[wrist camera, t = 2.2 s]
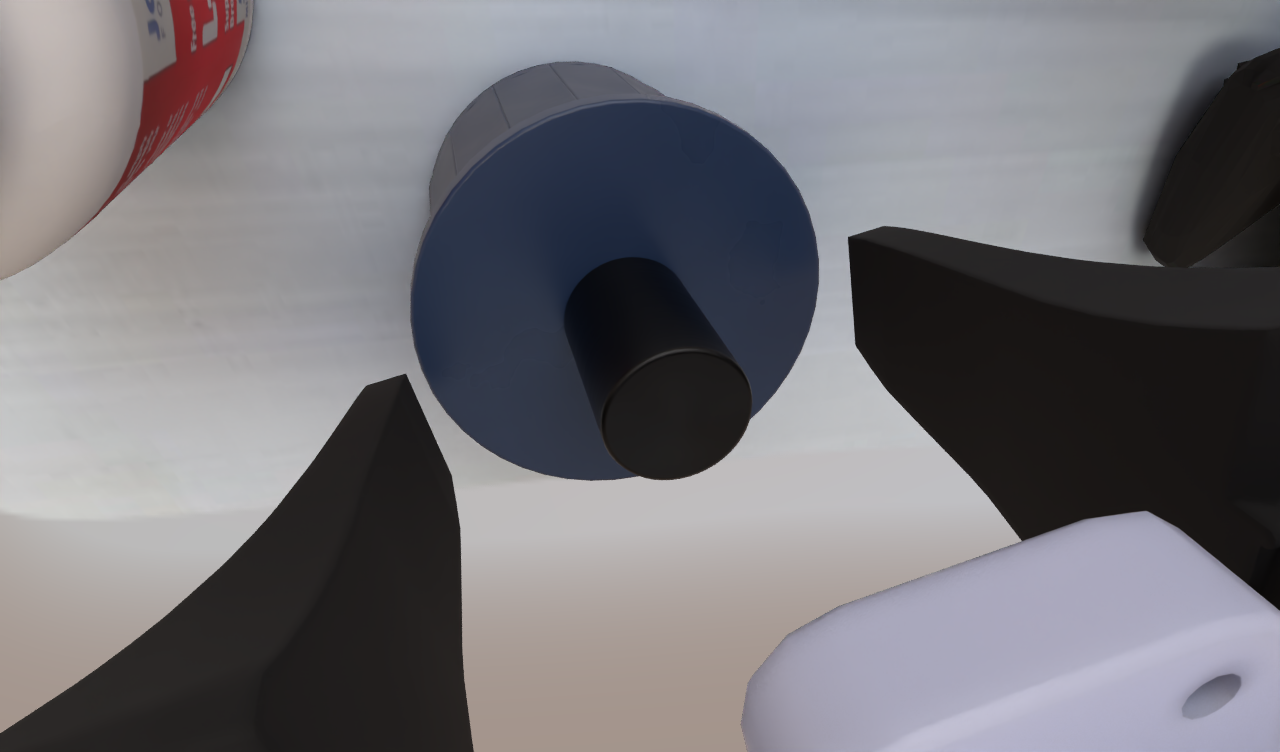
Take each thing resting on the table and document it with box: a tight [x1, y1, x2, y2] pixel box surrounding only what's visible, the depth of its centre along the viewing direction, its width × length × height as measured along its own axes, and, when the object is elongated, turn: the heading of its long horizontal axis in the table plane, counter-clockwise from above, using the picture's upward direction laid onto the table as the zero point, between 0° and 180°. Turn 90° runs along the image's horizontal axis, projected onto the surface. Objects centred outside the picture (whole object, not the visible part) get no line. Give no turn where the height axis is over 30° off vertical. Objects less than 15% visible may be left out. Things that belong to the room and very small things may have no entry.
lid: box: [411, 93, 819, 481], centre depth 13 cm, size 7×7×4 cm
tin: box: [429, 62, 664, 216], centre depth 16 cm, size 6×6×5 cm
